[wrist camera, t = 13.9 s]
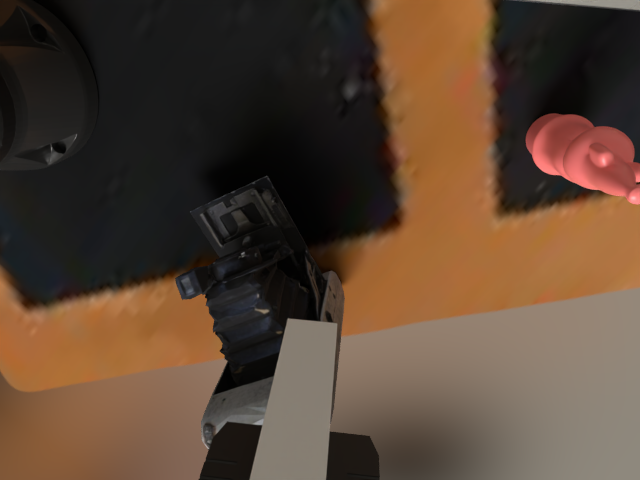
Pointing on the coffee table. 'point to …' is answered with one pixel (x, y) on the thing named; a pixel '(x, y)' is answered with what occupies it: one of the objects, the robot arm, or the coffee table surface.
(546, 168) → the figurine
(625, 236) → the coffee table surface
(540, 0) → the tribrach plate
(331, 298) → the vintage camera
